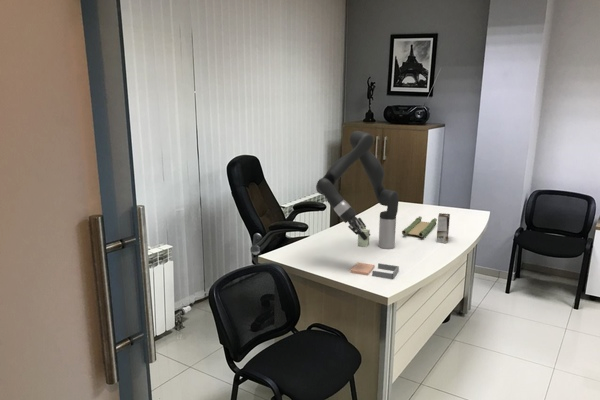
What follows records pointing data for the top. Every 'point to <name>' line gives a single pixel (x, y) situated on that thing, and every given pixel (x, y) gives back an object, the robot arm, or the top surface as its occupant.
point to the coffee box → (443, 228)
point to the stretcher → (420, 227)
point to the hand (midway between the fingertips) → (367, 237)
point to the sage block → (364, 242)
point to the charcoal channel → (384, 274)
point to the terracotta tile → (362, 268)
